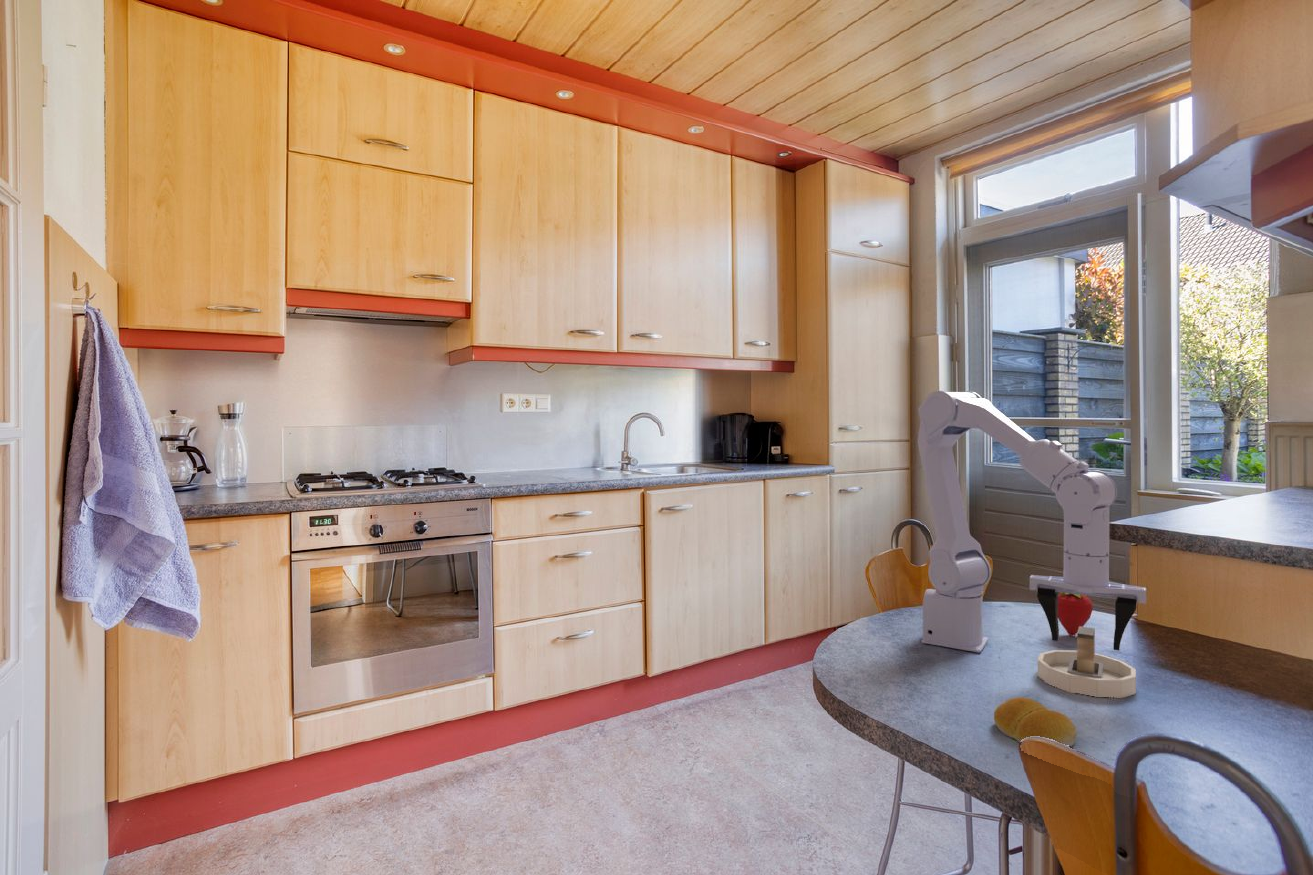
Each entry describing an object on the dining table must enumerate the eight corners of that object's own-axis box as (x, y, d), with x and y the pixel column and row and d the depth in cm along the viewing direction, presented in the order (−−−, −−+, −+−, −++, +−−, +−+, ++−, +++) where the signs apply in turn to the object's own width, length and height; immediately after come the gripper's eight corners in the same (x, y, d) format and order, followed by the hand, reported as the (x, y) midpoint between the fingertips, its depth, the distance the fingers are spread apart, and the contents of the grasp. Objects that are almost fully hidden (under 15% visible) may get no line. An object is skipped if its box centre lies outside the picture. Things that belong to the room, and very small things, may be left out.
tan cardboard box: (1077, 680, 99) (1077, 633, 99) (1078, 671, 103) (1079, 626, 102) (1093, 683, 98) (1093, 635, 98) (1094, 674, 101) (1094, 628, 101)
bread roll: (1044, 759, 79) (1044, 725, 78) (982, 726, 87) (982, 696, 87) (1094, 745, 82) (1094, 712, 81) (1029, 715, 90) (1029, 685, 90)
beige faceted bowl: (1034, 685, 99) (1034, 668, 99) (1043, 660, 109) (1043, 645, 109) (1136, 704, 92) (1136, 686, 92) (1135, 676, 102) (1135, 659, 102)
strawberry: (1097, 634, 122) (1097, 579, 121) (1086, 644, 116) (1086, 587, 116) (1060, 627, 126) (1060, 574, 126) (1047, 636, 121) (1048, 581, 120)
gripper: (1027, 552, 101) (1026, 642, 101) (1146, 563, 93) (1145, 661, 93) (1032, 544, 107) (1032, 629, 107) (1145, 554, 98) (1144, 646, 99)
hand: (1085, 643), depth 100 cm, fingers open, 7 cm apart
